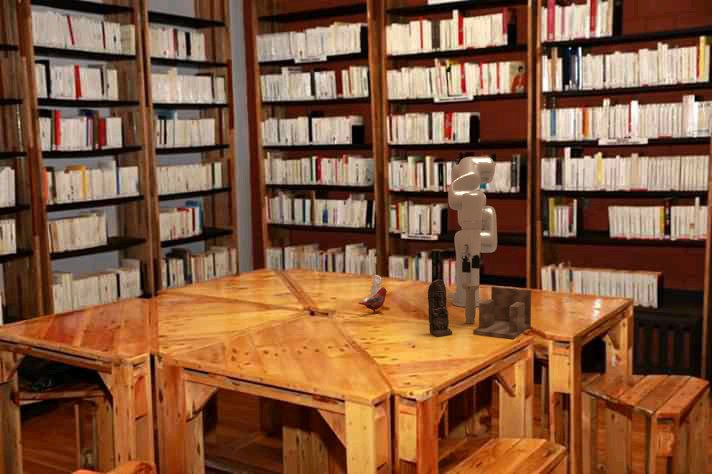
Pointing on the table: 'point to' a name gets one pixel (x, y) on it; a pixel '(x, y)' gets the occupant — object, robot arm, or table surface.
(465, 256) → the robot arm
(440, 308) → the statue
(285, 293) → the table surface
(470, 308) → the handle
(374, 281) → the white creature statuette
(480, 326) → the wooden stand
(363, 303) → the decorative bird figurine
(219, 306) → the table surface
